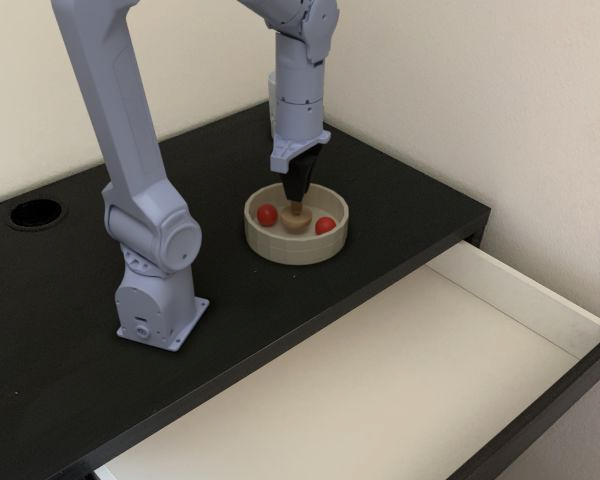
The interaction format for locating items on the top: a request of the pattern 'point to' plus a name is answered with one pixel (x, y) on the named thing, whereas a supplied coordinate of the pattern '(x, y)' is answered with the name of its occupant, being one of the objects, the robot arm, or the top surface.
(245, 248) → the top surface
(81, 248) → the top surface
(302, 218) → the wooden peg stand
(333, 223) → the tomato
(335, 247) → the bowl
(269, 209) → the tomato
